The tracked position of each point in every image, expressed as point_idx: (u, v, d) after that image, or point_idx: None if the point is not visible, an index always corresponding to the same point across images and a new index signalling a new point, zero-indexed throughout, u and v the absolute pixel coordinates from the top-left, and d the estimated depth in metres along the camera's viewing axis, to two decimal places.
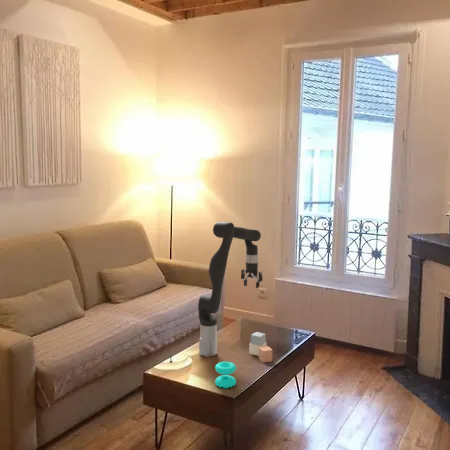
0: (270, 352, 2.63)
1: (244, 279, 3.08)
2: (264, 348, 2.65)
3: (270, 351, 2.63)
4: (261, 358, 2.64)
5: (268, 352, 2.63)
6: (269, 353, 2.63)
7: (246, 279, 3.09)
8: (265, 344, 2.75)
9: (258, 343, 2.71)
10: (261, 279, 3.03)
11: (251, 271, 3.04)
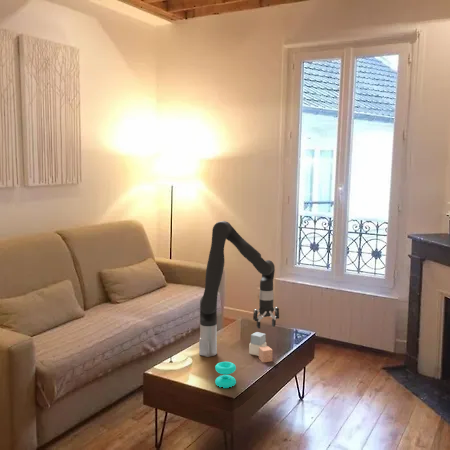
0: (270, 352, 2.63)
1: (259, 320, 2.61)
2: (264, 348, 2.65)
3: (270, 351, 2.63)
4: (261, 358, 2.64)
5: (268, 352, 2.63)
6: (269, 353, 2.63)
7: None
8: (265, 344, 2.75)
9: (258, 343, 2.71)
10: None
11: (268, 309, 2.62)
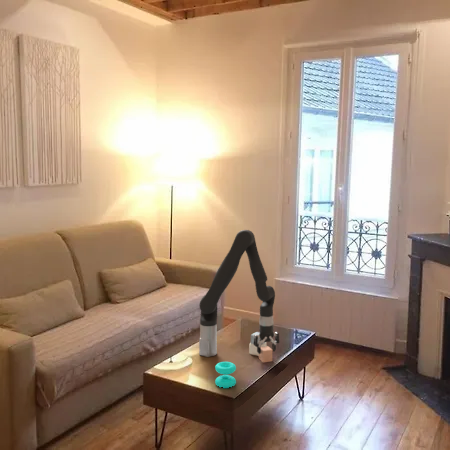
0: (270, 352, 2.63)
1: (259, 346, 2.62)
2: (264, 348, 2.65)
3: (270, 351, 2.63)
4: (261, 358, 2.64)
5: (268, 352, 2.63)
6: (269, 353, 2.63)
7: None
8: (265, 344, 2.75)
9: None
10: None
11: (268, 334, 2.63)
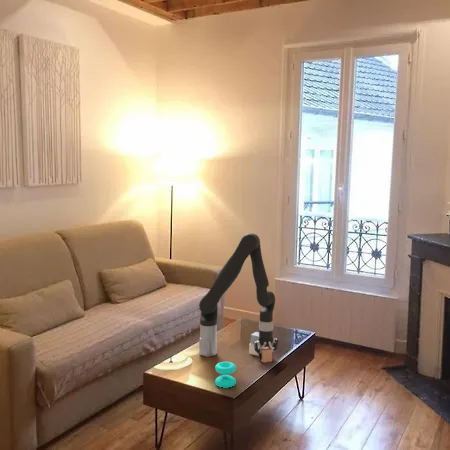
0: (270, 352, 2.63)
1: (261, 352, 2.63)
2: (264, 348, 2.65)
3: (270, 351, 2.63)
4: None
5: (268, 352, 2.63)
6: (269, 353, 2.63)
7: None
8: None
9: (258, 343, 2.71)
10: None
11: (267, 340, 2.63)
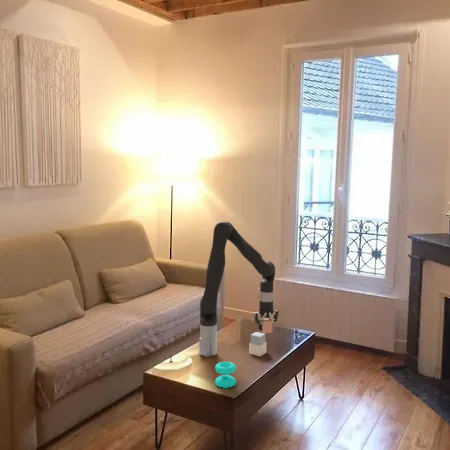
0: (270, 323, 2.61)
1: (261, 323, 2.61)
2: (264, 319, 2.63)
3: (270, 322, 2.61)
4: None
5: (268, 323, 2.61)
6: (269, 324, 2.61)
7: None
8: (265, 344, 2.75)
9: (258, 343, 2.71)
10: None
11: (267, 310, 2.61)
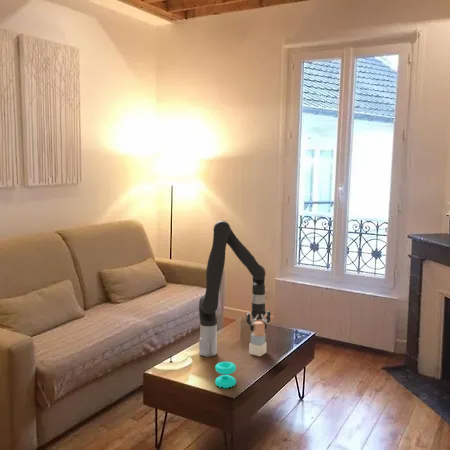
0: (262, 327, 2.71)
1: (252, 324, 2.71)
2: (257, 323, 2.73)
3: (262, 325, 2.71)
4: (254, 332, 2.72)
5: (261, 326, 2.71)
6: (261, 327, 2.71)
7: None
8: (265, 344, 2.75)
9: (258, 343, 2.71)
10: None
11: (260, 312, 2.72)
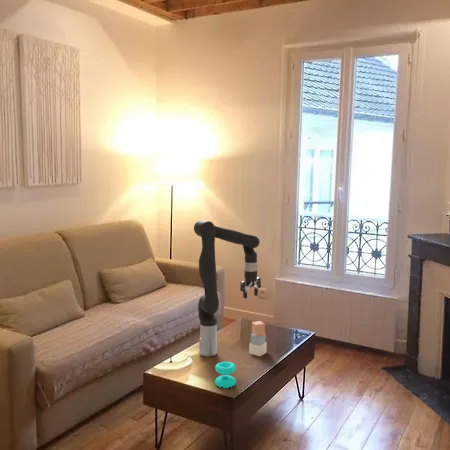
0: (262, 327, 2.71)
1: (246, 291, 2.80)
2: (257, 322, 2.73)
3: (262, 325, 2.71)
4: (254, 332, 2.72)
5: (261, 326, 2.71)
6: (261, 327, 2.71)
7: None
8: (265, 344, 2.75)
9: (258, 343, 2.71)
10: (258, 285, 2.89)
11: (252, 280, 2.83)
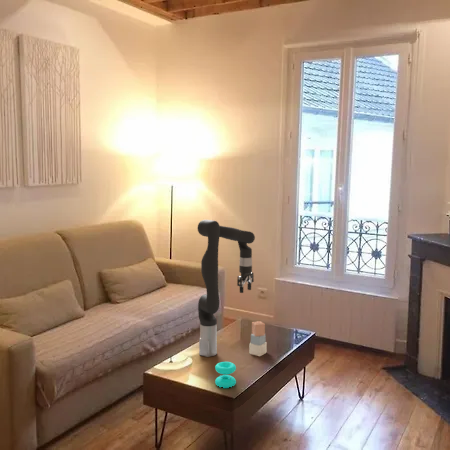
0: (262, 327, 2.71)
1: (243, 285, 2.87)
2: (257, 322, 2.73)
3: (262, 325, 2.71)
4: (254, 332, 2.72)
5: (261, 326, 2.71)
6: (261, 327, 2.71)
7: None
8: (265, 344, 2.75)
9: (258, 343, 2.71)
10: (250, 279, 2.97)
11: (247, 274, 2.90)
